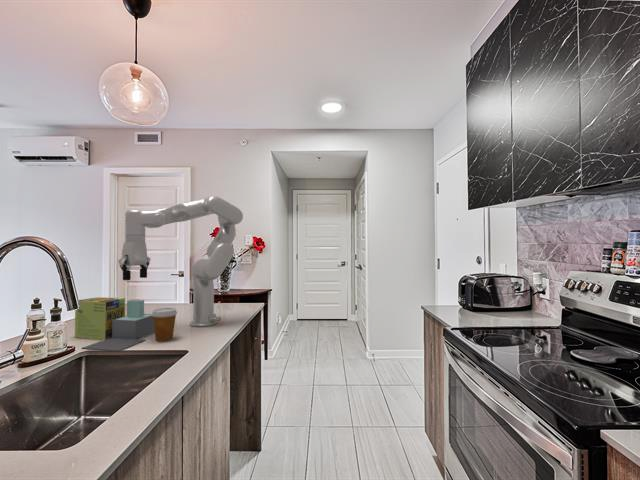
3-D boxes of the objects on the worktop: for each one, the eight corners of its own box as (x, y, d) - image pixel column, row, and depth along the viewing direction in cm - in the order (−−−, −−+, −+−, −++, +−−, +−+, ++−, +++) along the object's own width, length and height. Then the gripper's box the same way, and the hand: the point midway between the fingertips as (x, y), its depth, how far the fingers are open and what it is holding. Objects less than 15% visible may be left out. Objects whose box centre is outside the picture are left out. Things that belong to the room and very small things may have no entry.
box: (156, 331, 146) (157, 314, 146) (135, 340, 133) (135, 321, 133) (135, 330, 148) (135, 313, 148) (111, 338, 135) (112, 319, 135)
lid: (154, 316, 146) (154, 298, 146) (135, 322, 134) (135, 303, 134) (135, 315, 147) (135, 298, 148) (114, 321, 136) (115, 302, 136)
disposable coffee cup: (182, 337, 137) (182, 308, 137) (162, 344, 129) (162, 313, 129) (165, 335, 141) (166, 307, 141) (145, 340, 133) (146, 311, 133)
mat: (146, 340, 133) (146, 339, 133) (119, 351, 119) (119, 350, 119) (111, 338, 136) (111, 337, 136) (81, 348, 122) (81, 347, 122)
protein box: (105, 340, 134) (105, 302, 134) (74, 338, 137) (74, 300, 137) (125, 333, 144) (125, 297, 144) (95, 331, 147) (96, 296, 147)
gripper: (142, 239, 150) (142, 276, 150) (111, 238, 133) (111, 281, 133) (156, 239, 149) (156, 277, 149) (127, 238, 132) (127, 281, 132)
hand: (135, 278), depth 141 cm, fingers open, 9 cm apart
